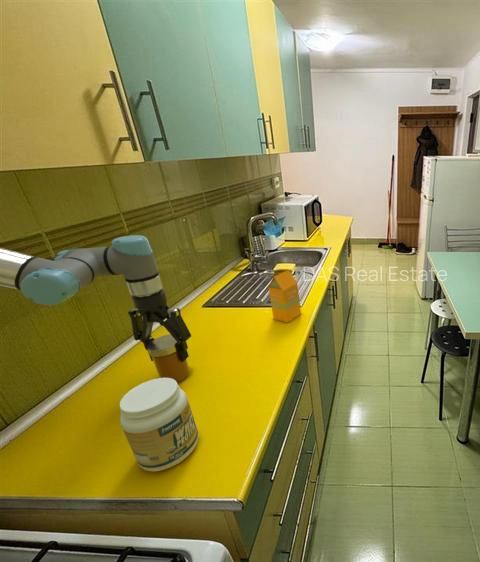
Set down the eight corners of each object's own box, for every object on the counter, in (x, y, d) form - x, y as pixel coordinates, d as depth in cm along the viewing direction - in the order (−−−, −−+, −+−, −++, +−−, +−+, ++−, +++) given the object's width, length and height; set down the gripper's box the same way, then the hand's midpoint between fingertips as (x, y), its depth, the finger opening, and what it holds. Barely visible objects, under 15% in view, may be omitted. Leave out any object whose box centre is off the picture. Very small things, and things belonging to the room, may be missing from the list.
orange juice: (301, 313, 132) (296, 270, 124) (287, 322, 125) (281, 277, 117) (287, 309, 135) (281, 267, 127) (273, 318, 128) (265, 274, 120)
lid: (189, 340, 95) (187, 334, 94) (170, 357, 87) (168, 350, 86) (163, 339, 95) (160, 333, 94) (141, 356, 87) (139, 350, 87)
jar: (154, 384, 92) (142, 351, 87) (172, 367, 99) (161, 336, 94) (179, 385, 91) (168, 352, 87) (195, 368, 99) (186, 336, 94)
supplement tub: (183, 473, 66) (161, 414, 59) (125, 476, 65) (97, 417, 59) (209, 426, 77) (192, 373, 71) (159, 429, 77) (138, 375, 70)
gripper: (192, 286, 87) (210, 352, 95) (122, 285, 88) (146, 350, 97) (175, 298, 80) (196, 367, 89) (99, 297, 81) (127, 365, 90)
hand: (170, 358), depth 93 cm, fingers closed on lid, 9 cm apart
